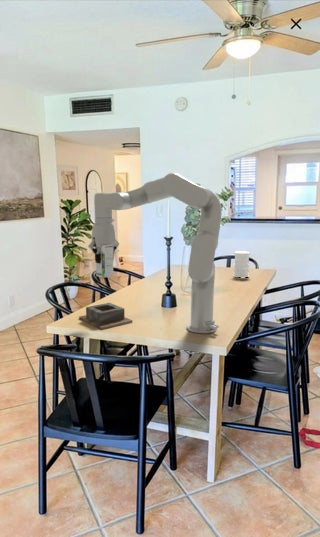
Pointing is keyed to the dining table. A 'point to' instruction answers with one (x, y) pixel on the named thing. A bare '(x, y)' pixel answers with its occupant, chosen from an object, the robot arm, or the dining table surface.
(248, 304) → the dining table surface
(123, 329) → the dining table surface
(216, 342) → the dining table surface
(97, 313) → the socket stand
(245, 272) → the decorative container
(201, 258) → the robot arm
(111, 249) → the syrup box
